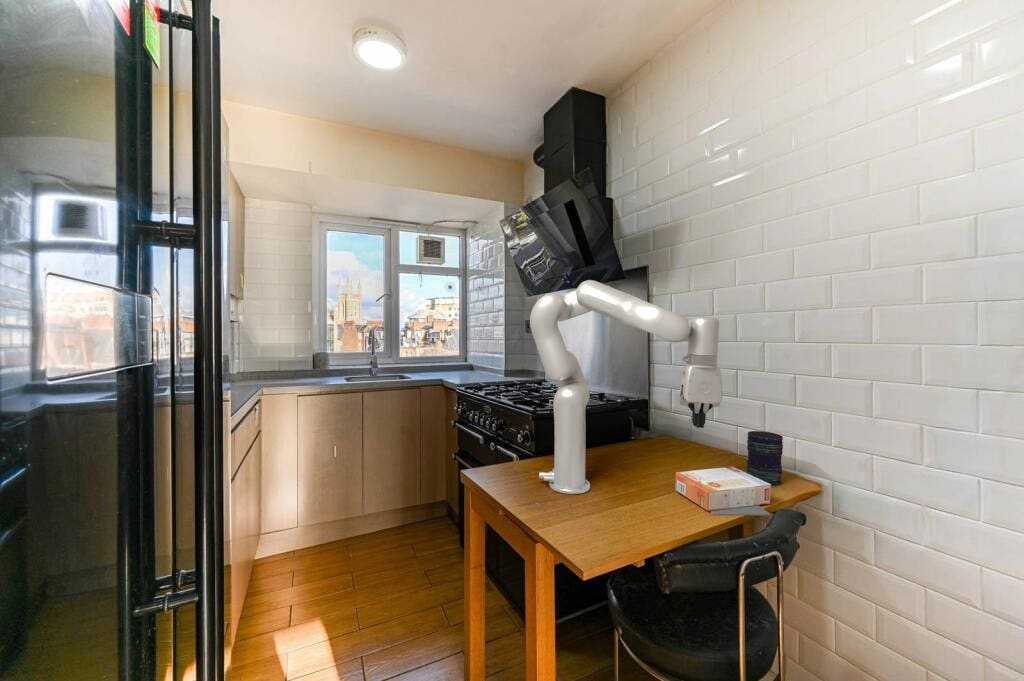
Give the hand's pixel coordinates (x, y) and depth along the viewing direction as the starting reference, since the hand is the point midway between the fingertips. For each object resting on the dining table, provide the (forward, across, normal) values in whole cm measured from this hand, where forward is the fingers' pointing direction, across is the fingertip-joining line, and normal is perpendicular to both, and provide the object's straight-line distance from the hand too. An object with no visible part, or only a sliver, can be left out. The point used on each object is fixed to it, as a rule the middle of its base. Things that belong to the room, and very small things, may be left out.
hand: (698, 426), depth 112 cm
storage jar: (+21, +30, +18) cm, 41 cm away
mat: (+21, +9, 0) cm, 23 cm away
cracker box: (+18, -1, 0) cm, 19 cm away
